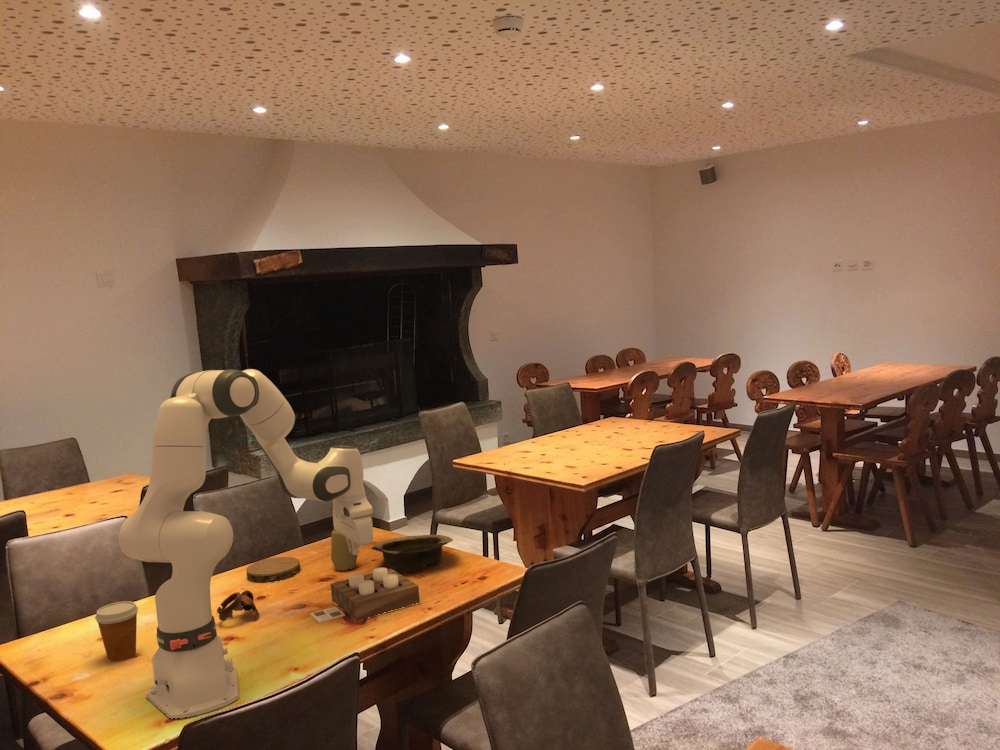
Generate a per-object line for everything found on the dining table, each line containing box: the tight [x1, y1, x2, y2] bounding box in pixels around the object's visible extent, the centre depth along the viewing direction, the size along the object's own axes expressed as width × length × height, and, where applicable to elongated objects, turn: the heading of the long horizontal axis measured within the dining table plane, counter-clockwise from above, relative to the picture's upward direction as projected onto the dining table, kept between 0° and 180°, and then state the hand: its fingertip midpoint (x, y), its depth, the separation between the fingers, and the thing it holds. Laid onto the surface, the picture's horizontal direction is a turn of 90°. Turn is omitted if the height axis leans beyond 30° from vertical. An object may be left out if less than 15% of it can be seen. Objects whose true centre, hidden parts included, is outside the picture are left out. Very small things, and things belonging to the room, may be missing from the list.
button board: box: [330, 568, 421, 622], centre depth 222 cm, size 18×18×5 cm
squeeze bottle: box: [330, 528, 358, 571], centre depth 251 cm, size 8×8×18 cm
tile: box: [310, 606, 346, 624], centre depth 215 cm, size 7×7×1 cm
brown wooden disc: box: [245, 556, 301, 584], centre depth 252 cm, size 16×16×3 cm
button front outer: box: [383, 574, 399, 590], centre depth 220 cm, size 4×4×5 cm
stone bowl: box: [370, 534, 454, 574], centre depth 251 cm, size 25×25×9 cm
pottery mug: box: [216, 589, 260, 622], centre depth 217 cm, size 12×10×8 cm
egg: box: [348, 573, 365, 589], centre depth 223 cm, size 4×4×5 cm
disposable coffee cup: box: [94, 600, 139, 662], centre depth 198 cm, size 10×10×12 cm
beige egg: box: [372, 567, 388, 583], centre depth 226 cm, size 4×4×5 cm
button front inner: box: [358, 580, 375, 596], centre depth 217 cm, size 4×4×5 cm
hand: (354, 553), depth 222 cm, fingers closed
